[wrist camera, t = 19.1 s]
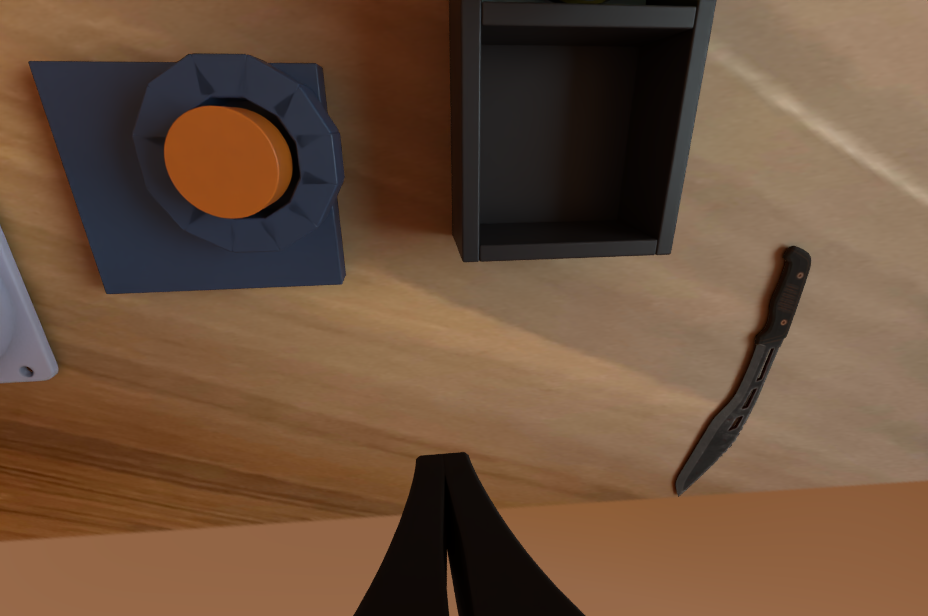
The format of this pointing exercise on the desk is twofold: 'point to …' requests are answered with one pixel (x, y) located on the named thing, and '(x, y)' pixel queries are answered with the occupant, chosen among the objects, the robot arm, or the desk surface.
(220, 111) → the button
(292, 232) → the block
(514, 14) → the rack
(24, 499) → the desk surface
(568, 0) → the supplement bottle
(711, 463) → the knife
